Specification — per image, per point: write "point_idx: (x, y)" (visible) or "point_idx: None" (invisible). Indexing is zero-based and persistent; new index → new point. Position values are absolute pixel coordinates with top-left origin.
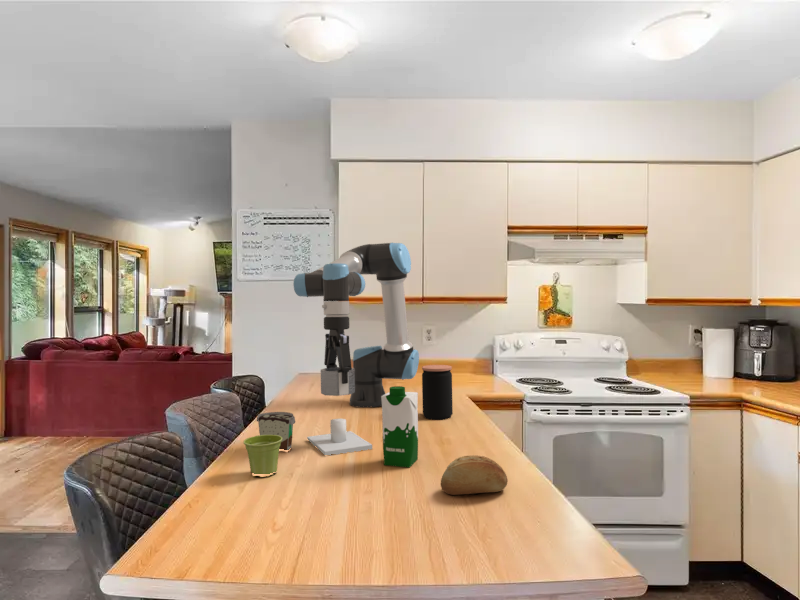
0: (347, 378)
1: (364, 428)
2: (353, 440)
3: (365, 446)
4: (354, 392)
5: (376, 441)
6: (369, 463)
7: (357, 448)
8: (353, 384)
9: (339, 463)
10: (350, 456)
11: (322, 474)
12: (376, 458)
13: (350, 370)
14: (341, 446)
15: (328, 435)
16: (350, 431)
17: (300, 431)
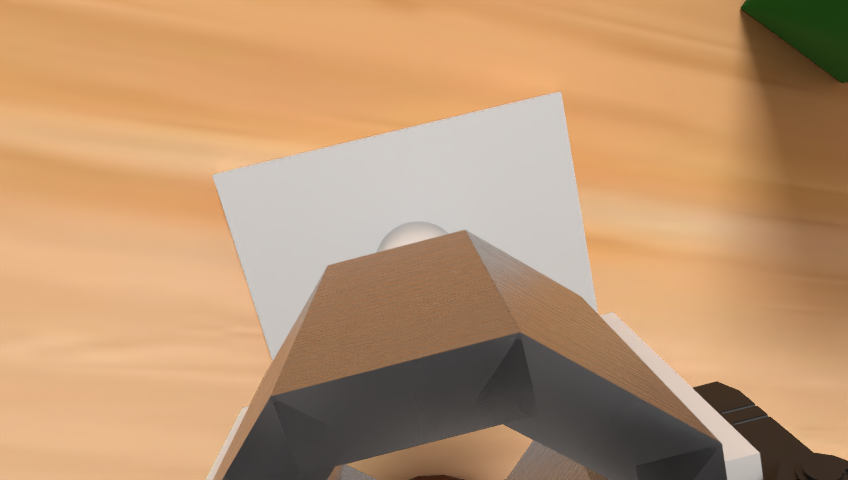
0: (765, 417)
1: (68, 63)
2: (438, 184)
3: (566, 133)
4: (474, 235)
5: (406, 40)
6: (780, 146)
7: (574, 178)
8: (512, 273)
9: (725, 280)
10: (639, 221)
11: (836, 357)
12: (719, 99)
13: (672, 414)
14: (537, 259)
15: (290, 309)
16: (225, 177)
17: (84, 437)
